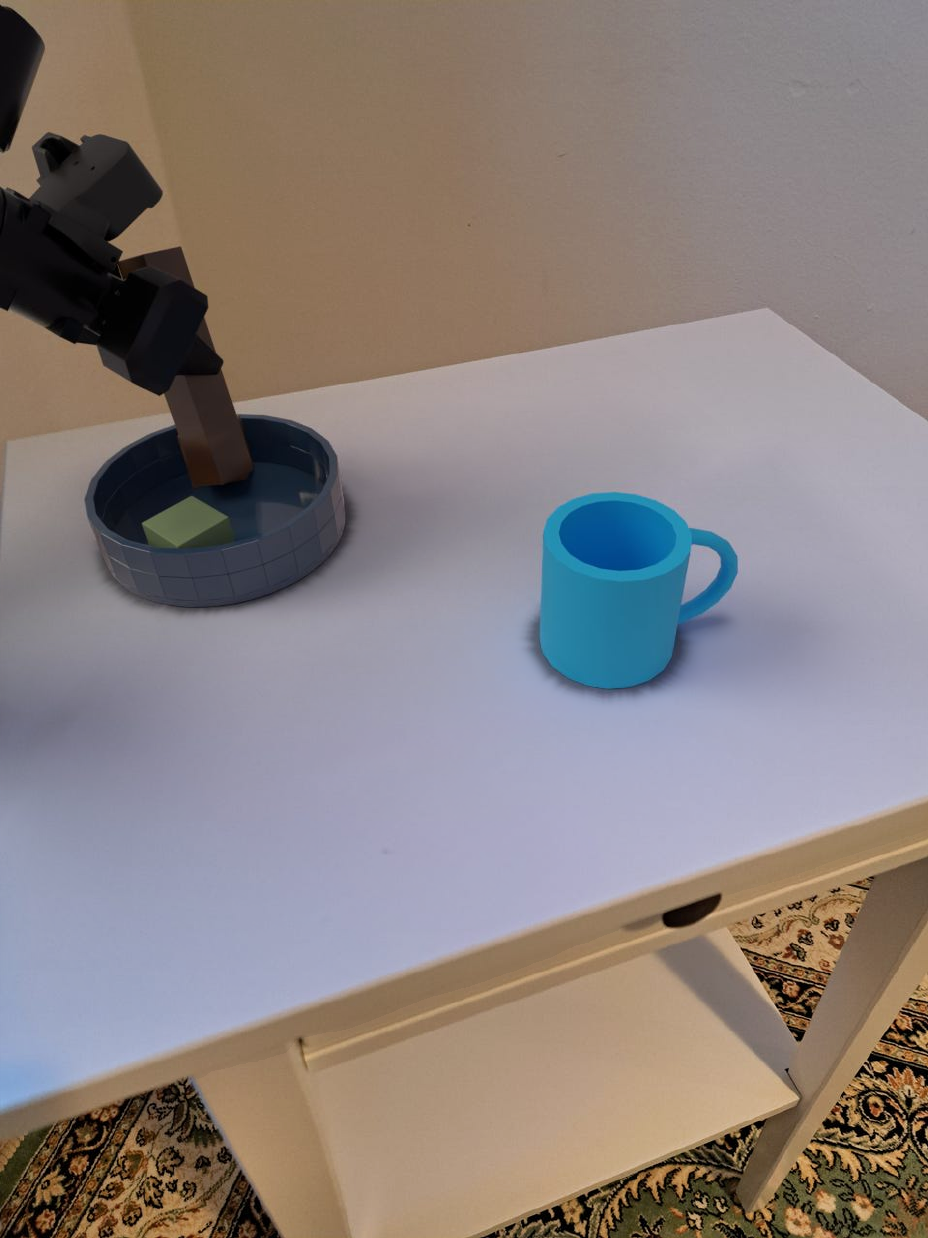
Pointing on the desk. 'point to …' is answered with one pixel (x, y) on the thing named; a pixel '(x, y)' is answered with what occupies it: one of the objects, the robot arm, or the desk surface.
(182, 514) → the sage cube
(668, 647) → the mug
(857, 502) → the desk surface
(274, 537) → the bowl
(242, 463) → the stick
